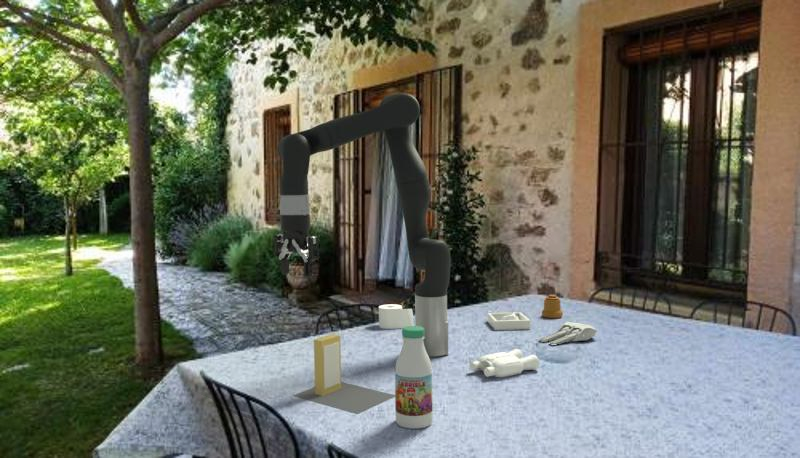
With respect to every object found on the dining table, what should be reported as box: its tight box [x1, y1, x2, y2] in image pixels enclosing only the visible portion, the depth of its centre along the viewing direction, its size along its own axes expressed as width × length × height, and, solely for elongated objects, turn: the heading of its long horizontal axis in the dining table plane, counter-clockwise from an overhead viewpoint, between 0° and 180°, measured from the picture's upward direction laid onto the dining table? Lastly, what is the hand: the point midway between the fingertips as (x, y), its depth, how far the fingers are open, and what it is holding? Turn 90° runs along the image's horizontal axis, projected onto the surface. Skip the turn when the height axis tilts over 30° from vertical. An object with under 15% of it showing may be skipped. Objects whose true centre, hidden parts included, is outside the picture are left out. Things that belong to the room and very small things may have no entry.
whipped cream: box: [501, 312, 519, 320], centre depth 214 cm, size 8×7×5 cm
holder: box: [486, 311, 531, 331], centre depth 215 cm, size 12×13×3 cm
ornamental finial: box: [541, 294, 564, 319], centre depth 227 cm, size 8×8×8 cm
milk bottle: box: [394, 325, 434, 430], centre depth 128 cm, size 8×8×20 cm
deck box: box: [313, 333, 342, 396], centre depth 147 cm, size 3×6×13 cm, turn 143°
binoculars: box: [469, 348, 540, 379], centre depth 163 cm, size 10×16×5 cm, turn 121°
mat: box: [292, 381, 395, 415], centre depth 145 cm, size 20×14×1 cm
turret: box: [537, 321, 598, 345], centre depth 194 cm, size 10×20×5 cm, turn 120°
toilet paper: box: [378, 303, 414, 330], centre depth 216 cm, size 8×11×7 cm
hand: (296, 275), depth 161 cm, fingers open, 8 cm apart
